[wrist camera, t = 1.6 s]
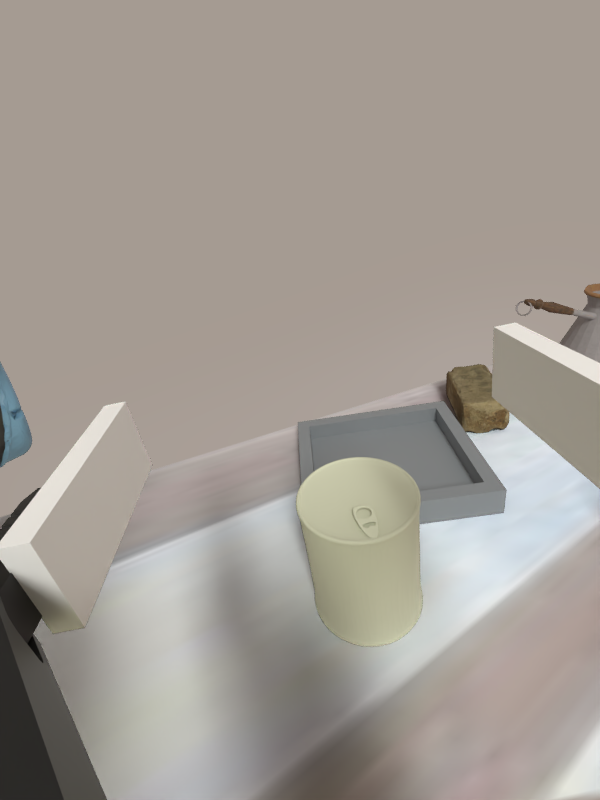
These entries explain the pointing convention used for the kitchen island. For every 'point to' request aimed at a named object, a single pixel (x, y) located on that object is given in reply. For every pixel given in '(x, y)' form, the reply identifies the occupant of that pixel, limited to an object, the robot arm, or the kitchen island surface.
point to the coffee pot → (578, 323)
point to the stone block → (475, 399)
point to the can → (363, 548)
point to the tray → (411, 456)
